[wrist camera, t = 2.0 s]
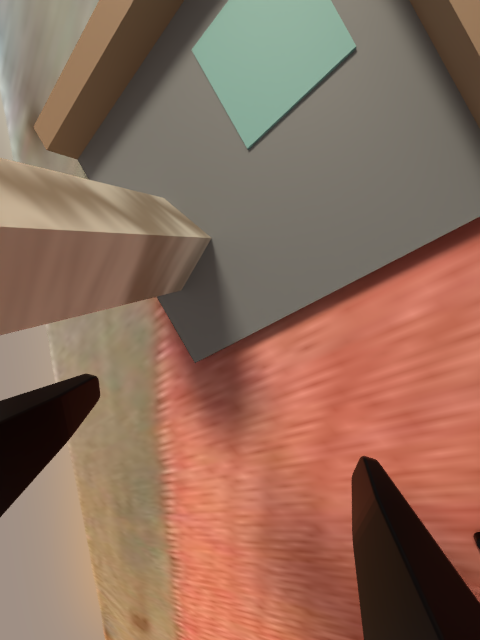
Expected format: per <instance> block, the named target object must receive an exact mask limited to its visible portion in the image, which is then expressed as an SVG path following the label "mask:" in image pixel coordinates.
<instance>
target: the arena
mask: <svg viewBox="0 0 480 640" xmlns="http://www.w3.org/2000/svg"><path fill="white" fill-rule="evenodd" d="M34 129H35V131H36V132H37V134H38V136H39V137H40V139H41V141H42V143H43V144H44V146H45V148H46V150H48V151H52V152H55V153H58V154H61V155H65V156H68V157H71V158H74V159H78V161H79V163H80V165H81V166H82V168H83V170H84V172H85V173H86V175H87V177H88V178H89V180H93V181H97V182H101V183H105V184H109V185H113V186H117V187H121V188H125V189H129V190H133V191H137V192H142V193H146V194H150V195H154V196H158V197H162V198H165V199H166V200H167V201H168V202H169V203H170V204H172V205H173V206H174V207H175V208H176V209H178V210H179V211H180V212H181V213H182V214H184V215H185V216H186V217H187V218H188V219H189V220H191V221H192V222H193V223H194V224H195V225H197V226H198V227H199V228H200V229H201V230H203V231H204V232H205V233H206V234H207V235H209V236H210V237H211V240H210V242H209V243H208V245H207V247H206V249H205V250H204V252H203V254H202V256H201V257H200V259H199V261H198V262H197V264H196V266H195V268H194V269H193V271H192V273H191V275H190V276H189V278H188V280H187V281H186V283H185V285H184V287H183V288H182V290H181V291H177V292H173V293H169V294H165V295H161V296H157V298H158V300H159V302H160V303H161V305H162V307H163V309H164V310H165V312H166V314H167V315H168V317H169V319H170V321H171V322H172V324H173V326H174V328H175V329H176V331H177V333H178V335H179V336H180V338H181V340H182V341H183V343H184V345H185V347H186V348H187V350H188V352H189V354H190V355H191V357H192V359H193V361H194V362H195V363H196V362H198V361H200V360H202V359H204V358H206V357H208V356H210V355H212V354H214V353H216V352H218V351H219V350H221V349H223V348H225V347H227V346H229V345H231V344H233V343H235V342H237V341H239V340H241V339H243V338H245V337H247V336H249V335H251V334H253V333H254V332H256V331H258V330H260V329H262V328H264V327H266V326H268V325H270V324H272V323H274V322H276V321H278V320H280V319H282V318H284V317H286V316H287V315H289V314H291V313H293V312H295V311H297V310H299V309H301V308H303V307H305V306H307V305H309V304H311V303H313V302H315V301H317V300H319V299H321V298H322V297H324V296H326V295H328V294H330V293H332V292H334V291H336V290H338V289H340V288H342V287H344V286H346V285H348V284H350V283H352V282H354V281H356V280H357V279H359V278H361V277H363V276H365V275H367V274H369V273H371V272H373V271H375V270H377V269H379V268H381V267H383V266H385V265H387V264H389V263H390V262H392V261H394V260H396V259H398V258H400V257H402V256H404V255H406V254H408V253H410V252H412V251H414V250H416V249H418V248H420V247H422V246H424V245H425V244H427V243H429V242H431V241H433V240H435V239H437V238H439V237H441V236H443V235H445V234H447V233H449V232H451V231H453V230H455V229H457V228H459V227H460V226H462V225H464V224H466V223H468V222H470V221H472V220H474V219H476V218H478V217H480V0H99V2H98V4H97V6H96V8H95V10H94V12H93V14H92V15H91V17H90V19H89V21H88V23H87V25H86V27H85V29H84V31H83V33H82V35H81V37H80V39H79V40H78V42H77V44H76V46H75V48H74V50H73V52H72V54H71V56H70V58H69V60H68V62H67V64H66V65H65V67H64V69H63V71H62V73H61V75H60V77H59V79H58V81H57V83H56V85H55V87H54V89H53V90H52V92H51V94H50V96H49V98H48V100H47V102H46V104H45V106H44V108H43V110H42V112H41V114H40V115H39V117H38V119H37V121H36V123H35V125H34Z"/></svg>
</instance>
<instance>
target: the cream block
mask: <svg viewBox="0 0 480 640" xmlns="http://www.w3.org/2000/svg"><path fill="white" fill-rule="evenodd" d="M210 240H211V237H210V236H209V235H207V234H206V233H205V232H204V231H203V230H201V229H200V228H199V227H198V226H197V225H195V224H194V223H193V222H192V221H191V220H189V219H188V218H187V217H186V216H185V215H184V214H182V213H181V212H180V211H179V210H178V209H176V208H175V207H174V206H173V205H172V204H170V203H169V202H168V201H167V200H166V199H165V198H162V197H158V196H154V195H150V194H146V193H142V192H137V191H133V190H129V189H125V188H121V187H117V186H113V185H109V184H105V183H101V182H97V181H93V180H89V179H84V178H80V177H76V176H72V175H68V174H64V173H60V172H56V171H52V170H48V169H44V168H40V167H36V166H31V165H27V164H23V163H19V162H15V161H11V160H7V159H2V158H0V335H3V334H7V333H11V332H15V331H19V330H23V329H27V328H32V327H36V326H39V325H43V324H48V323H52V322H56V321H60V320H64V319H68V318H72V317H76V316H80V315H84V314H88V313H92V312H96V311H100V310H104V309H108V308H112V307H117V306H121V305H125V304H129V303H133V302H137V301H141V300H145V299H149V298H153V297H157V296H161V295H165V294H169V293H173V292H177V291H181V290H182V288H183V287H184V285H185V283H186V281H187V280H188V278H189V276H190V275H191V273H192V271H193V269H194V268H195V266H196V264H197V262H198V261H199V259H200V257H201V256H202V254H203V252H204V250H205V249H206V247H207V245H208V243H209V242H210Z"/></svg>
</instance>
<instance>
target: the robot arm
mask: <svg viewBox="0 0 480 640" xmlns="http://www.w3.org/2000/svg"><path fill="white" fill-rule="evenodd" d="M99 398H100V388H99V380H98V378H97V377H96V376H94V375H90V374H83V375H80V376H76V377H73V378H70V379H67V380H64V381H61V382H58V383H55V384H52V385H49V386H46V387H43V388H39V389H36V390H33V391H30V392H27V393H24V394H20V395H17V396H14V397H11V398H8V399H5V400H2V401H0V517H1V516H2V515H3V513H5V511H6V510H7V509H8V508H9V507H10V505H12V503H13V502H14V501H15V500H16V499H17V498H18V497H19V496H20V495H21V493H22V492H23V491H24V490H25V488H27V487H28V485H29V484H30V483H31V482H32V481H33V480H34V479H35V478H36V476H37V475H38V474H39V473H40V472H41V471H42V470H43V469H44V467H45V466H46V465H47V464H48V463H49V462H50V461H51V460H52V458H53V457H54V456H55V455H56V454H57V453H58V452H59V451H60V449H61V448H62V447H63V446H64V445H65V444H66V443H67V441H68V440H69V439H70V438H71V437H72V435H73V434H74V433H75V431H76V430H77V429H78V427H79V426H80V425H81V423H82V422H83V421H84V419H85V418H86V417H87V415H88V414H89V413H90V411H91V410H92V408H93V407H94V406H95V404H96V403H97V402H98V400H99ZM352 535H353V548H354V557H355V566H356V575H357V583H358V592H359V600H360V609H361V618H362V626H363V635H364V640H480V603H479V601H478V600H477V599H476V597H475V596H474V595H473V593H472V592H471V590H470V589H469V588H468V586H467V585H466V583H465V582H464V581H463V579H462V578H461V576H460V575H459V574H458V572H457V571H456V569H455V568H454V567H453V565H452V564H451V562H450V561H449V560H448V558H447V557H446V555H445V554H444V553H443V551H442V550H441V548H440V547H439V546H438V544H437V543H436V541H435V540H434V539H433V537H432V536H431V534H430V533H429V532H428V530H427V529H426V527H425V526H424V525H423V523H422V522H421V520H420V519H419V518H418V516H417V515H416V513H415V512H414V511H413V509H412V508H411V507H410V505H409V504H408V502H407V501H406V500H405V498H404V497H403V495H402V494H401V493H400V491H399V490H398V488H397V487H396V486H395V484H394V483H393V481H392V480H391V479H390V477H389V476H388V474H387V473H386V472H385V470H384V469H383V467H382V466H381V465H380V463H379V462H378V461H377V460H375V459H373V458H369V457H366V456H362V457H361V458H360V459H359V462H358V464H357V466H356V468H355V470H354V472H353V475H352ZM474 538H475V541H476V543H477V545H478V547H479V549H480V532H477V533H476V534H475V535H474Z"/></svg>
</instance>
